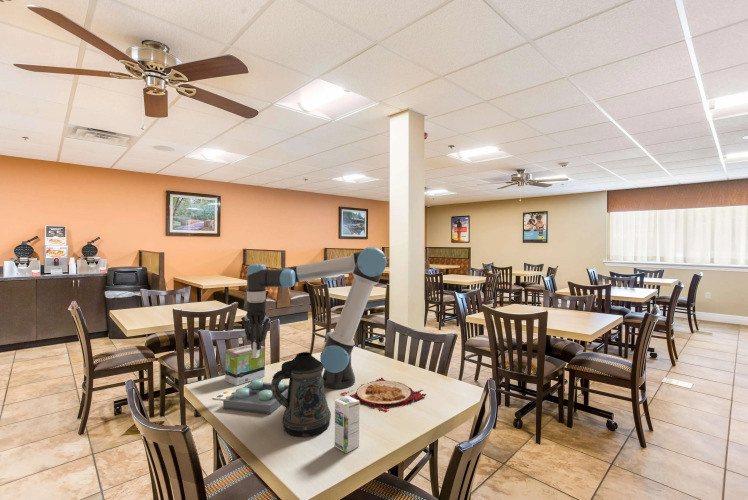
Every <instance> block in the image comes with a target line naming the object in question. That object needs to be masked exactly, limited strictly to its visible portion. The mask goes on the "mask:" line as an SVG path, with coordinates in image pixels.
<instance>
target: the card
mask: <svg viewBox="0 0 748 500" xmlns="http://www.w3.org/2000/svg"><path fill="white" fill-rule="evenodd" d="M235 392H236V390H228V389H226V390H223V391H222V392H220V393H218V394H217V395H215V396H213V397H212V400H217V401H218V400H219V401H223V400H225V399H226V398H228V397H229V396H231V395H232V394H234V393H235Z"/></svg>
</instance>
